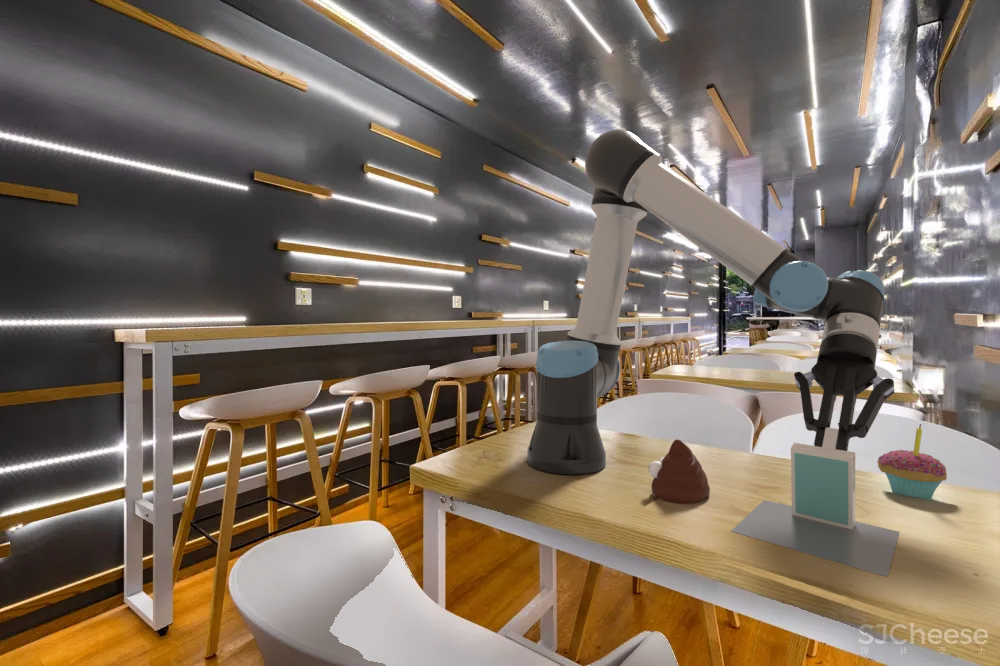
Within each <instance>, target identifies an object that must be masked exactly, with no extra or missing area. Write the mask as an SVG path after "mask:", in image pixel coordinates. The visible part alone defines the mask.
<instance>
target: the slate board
mask: <svg viewBox="0 0 1000 666" xmlns="http://www.w3.org/2000/svg"><path fill="white" fill-rule="evenodd" d="M730 532H731V533H735V534H738V535H741V536H745V537H747V538H748V537H749V538H753V539H755V540H758V541H763V542H765V543H770V544H773V545H777V546H780V547H783V548H787V549H790V550H793V551H798V552H800V553H804V554H807V555H811V556H814V557H817V558H821V559H824V560H827V561H831V562H833V563H834V562H835V563H838V564H842V565H845V566H849V567H852V568H855V569H859V570H862V571H866V572H869V573H873V574H875V575H876V574H877V575H879V576H883V577H886V578H887V577H889V572H890V568H891V565H892V561H893V557H894V554H895V550H896V548H897V547H896V546H897V542H898V539H899V535H900V531H898V530H893V529H889V528H885V527H881V526H878V525H877V526H876V525H872V524H869V523H865V522H860V521H856V520H855V525H854V528H853V530H852V529H848V528H844V527H840V526H836V525H831V524H827V523H823V522H819V521H815V520H811V519H807V518H803V517H799V516H795V515H792V505H788V504H784V503H780V502H776V501H772V500H767V499H763V500H762V501H761V502H760V503H759V504H758V505H756V506H755V508H753V509H752V511H751V512H749V513H748V514H747V515H746V516H745V517H744V518H743V519H742V520H741V521H740V522H738V523H737V525H735V526H734V528H732V529H731V530H730Z"/></svg>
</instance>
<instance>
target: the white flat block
mask: <svg viewBox="0 0 1000 666" xmlns="http://www.w3.org/2000/svg"><path fill="white" fill-rule="evenodd" d="M790 474H791V476H790V479H791V480H790V481H791V484H790V485H791V487H790V488H791V506H792V515H795V516H799V517H803V518H807V519H811V520H815V521H819V522H823V523H827V524H831V525H836V526H840V527H844V528H848V529H852V530H853V528H854V525H855V521H856V452H854V451H850V450H849V451H848V450H847V451H843V450H837V449H830V448H824V447H818V446H814V445H810V444H806V443H805V444H803V443H797V442H794V443H793V444H792V446H791V447H790Z"/></svg>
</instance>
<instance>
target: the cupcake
mask: <svg viewBox="0 0 1000 666" xmlns="http://www.w3.org/2000/svg"><path fill="white" fill-rule="evenodd" d="M922 434H923V428H922V423H920V424H919V427H917V428H916V431H915V438H914V447H913V450H908V449H907V450H903V449H900V450H899V449H897V450H891V451H888V452H886V453H883V454H882V455H880V456H878V458H877V466H878V469H879V470H880V471H881V472H882V473H884V474H885V475H886V478H887V480H888V483H889V485H890V486H889V487H890V489H891V492H892V493H893V494H897V495H902V496H905V497H906V496H907V497H912V498H917V499H922V500H928V501H931V500H932V498H933V496H934V493H935V492H936V490H937V488H938V487H939V486H940V484H941V483H942V482H943V481H946V480H947V479H948V474H947V468H946V466H945V465H944V463H942V462H940V459H937V458H935V457H933V456H932V455H930V454H928V453H927V454H925V453H924V452H923V453H920V447H921V441H922Z"/></svg>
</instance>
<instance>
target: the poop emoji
mask: <svg viewBox="0 0 1000 666" xmlns="http://www.w3.org/2000/svg"><path fill="white" fill-rule="evenodd" d="M648 472H649V474H650V476H651V477H652V478H653V479H652V482H651V487H650V488H651V493H652V495H653V497H655V499H656V500H658V499H659V500H662V501H665V502H668V503H673V504H680V505H682V504H683V505H692V504H697V503H700V502H702V501H703V500H704V499H707V498H708V496H709V495H710V491H711V489H710V485H709V481H708V477H707V474H706V472H705V471H704V469H703V467H702V465H701V462H700V461H699V460H698V458H697V457H696V455H695V454H694V453H693V451H692V450H691V448H690V447H689V446H688V445H687V444H686V443H684V442H683V441H682V440H680V439H677V438H676V439H674V441H673V442H672V443H671V445H670V447H669V450H668V452H667V453H666V454H665V455H664V456H663V457H661V458H660V459H658V460H653V461H652V462H651V463H650V464H649V466H648Z"/></svg>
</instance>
